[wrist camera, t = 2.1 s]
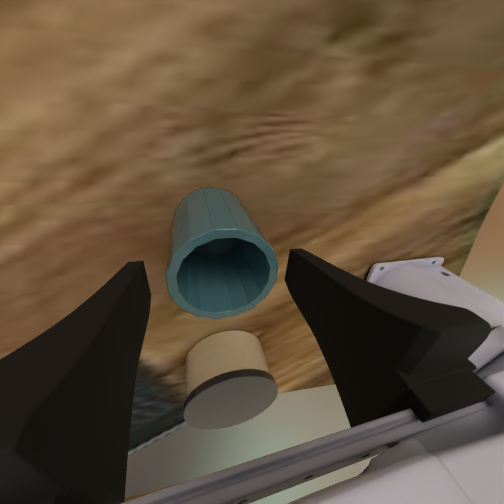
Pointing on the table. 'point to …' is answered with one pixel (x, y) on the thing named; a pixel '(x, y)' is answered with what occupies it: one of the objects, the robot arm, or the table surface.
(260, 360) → the jar
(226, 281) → the cup
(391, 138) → the table surface
